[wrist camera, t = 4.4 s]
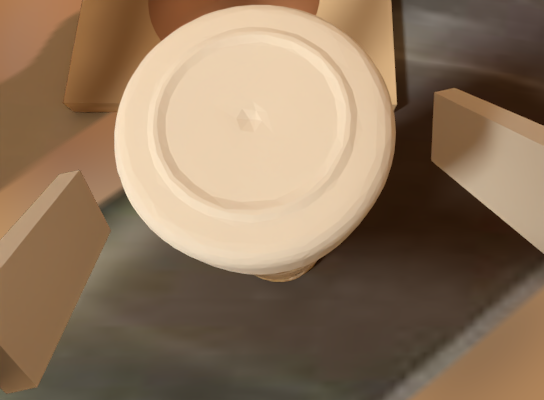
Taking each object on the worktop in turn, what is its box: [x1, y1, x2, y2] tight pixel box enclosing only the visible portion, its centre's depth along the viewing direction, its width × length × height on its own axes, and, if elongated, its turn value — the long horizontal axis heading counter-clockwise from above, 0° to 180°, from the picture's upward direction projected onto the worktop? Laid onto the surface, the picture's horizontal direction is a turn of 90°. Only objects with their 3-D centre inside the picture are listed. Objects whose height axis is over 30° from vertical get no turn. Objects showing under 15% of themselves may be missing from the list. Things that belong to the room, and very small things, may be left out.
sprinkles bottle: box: [114, 5, 396, 282], centre depth 12 cm, size 5×5×13 cm
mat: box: [63, 0, 397, 112], centre depth 22 cm, size 18×14×1 cm
